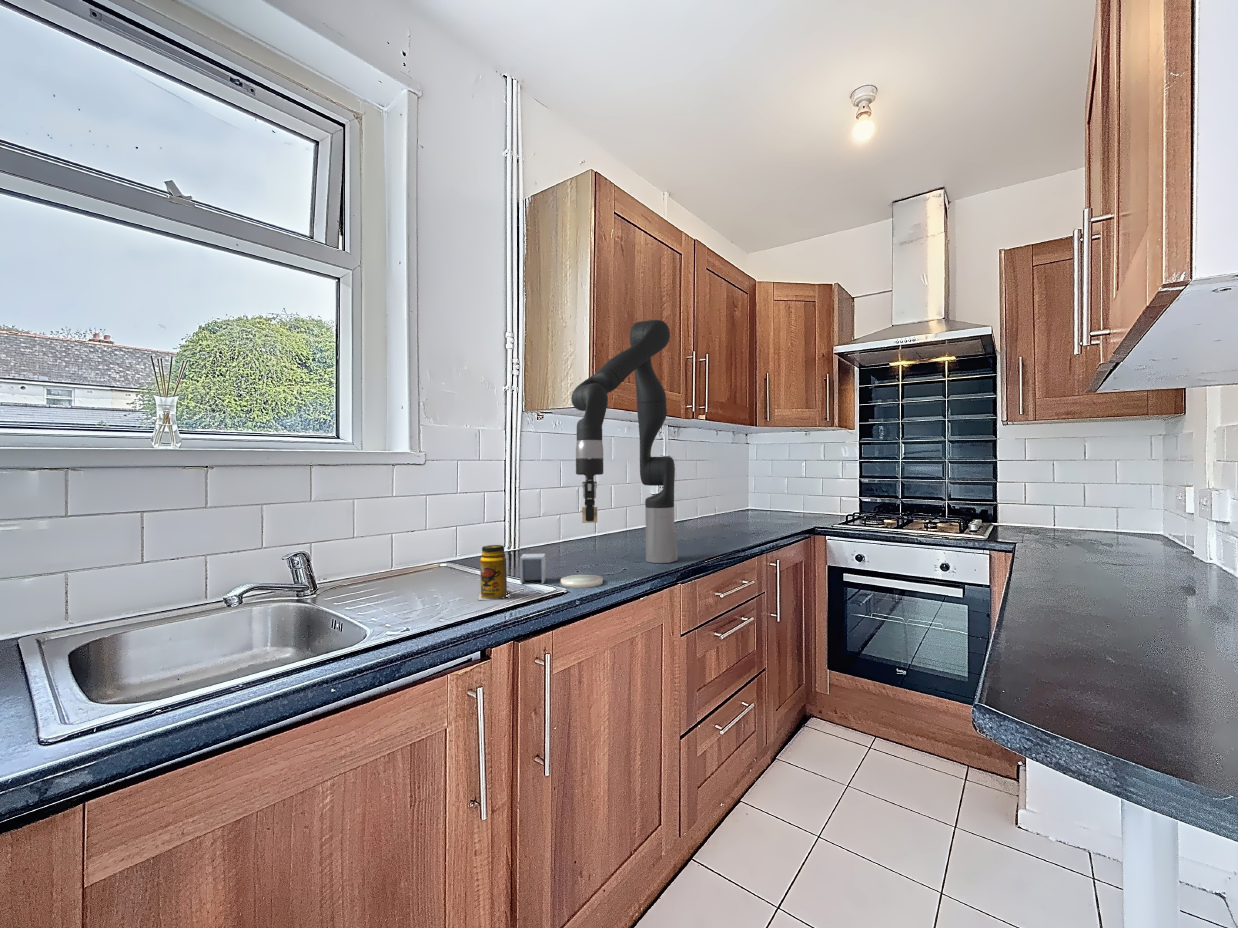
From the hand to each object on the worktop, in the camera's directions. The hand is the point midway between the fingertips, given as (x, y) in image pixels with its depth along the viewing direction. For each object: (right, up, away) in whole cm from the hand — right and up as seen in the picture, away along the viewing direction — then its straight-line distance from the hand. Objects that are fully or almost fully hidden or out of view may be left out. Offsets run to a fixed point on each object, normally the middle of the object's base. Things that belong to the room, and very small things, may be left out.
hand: (589, 520), depth 152 cm
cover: (-15, -16, -3) cm, 22 cm away
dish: (-2, -16, -6) cm, 17 cm away
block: (0, -1, 0) cm, 1 cm away
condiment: (-22, -16, -18) cm, 33 cm away
